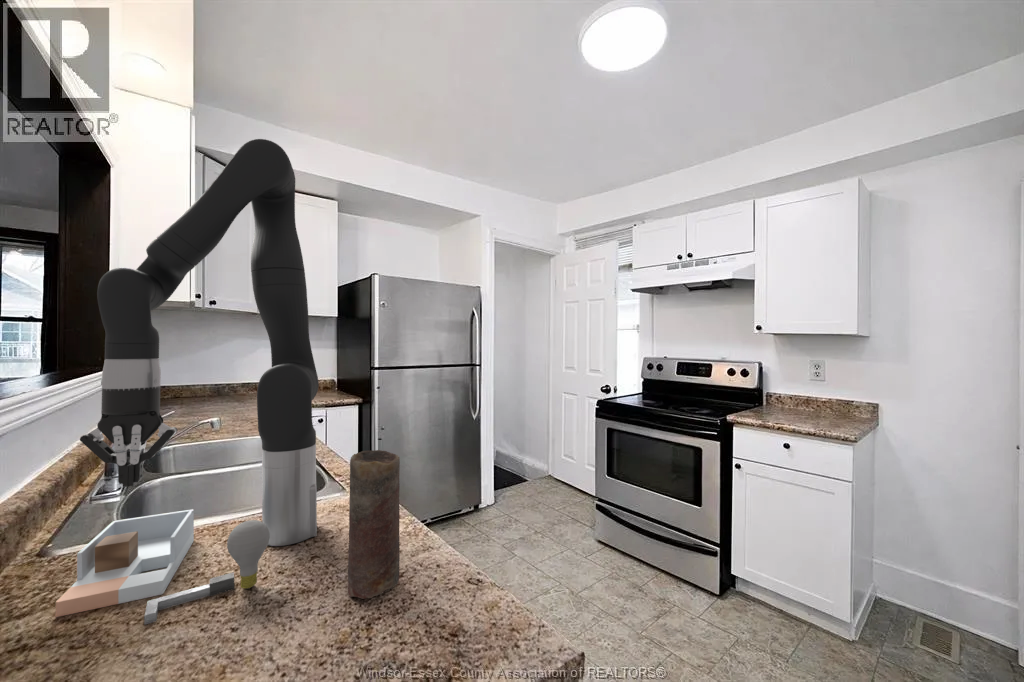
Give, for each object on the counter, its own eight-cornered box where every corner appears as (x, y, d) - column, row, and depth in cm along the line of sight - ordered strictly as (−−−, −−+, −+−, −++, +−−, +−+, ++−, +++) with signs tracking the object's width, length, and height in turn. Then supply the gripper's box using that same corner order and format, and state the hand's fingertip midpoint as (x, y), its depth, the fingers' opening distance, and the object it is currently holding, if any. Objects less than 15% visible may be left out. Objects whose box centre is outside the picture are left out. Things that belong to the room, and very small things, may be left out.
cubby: (193, 541, 79) (193, 509, 79) (162, 594, 62) (162, 553, 62) (113, 555, 74) (113, 520, 74) (55, 617, 57) (55, 572, 57)
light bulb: (278, 581, 65) (277, 516, 65) (245, 601, 60) (245, 531, 60) (252, 575, 67) (251, 512, 67) (218, 594, 61) (218, 526, 62)
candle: (386, 569, 68) (385, 446, 68) (410, 587, 63) (409, 454, 63) (339, 589, 63) (338, 455, 63) (361, 610, 57) (360, 464, 58)
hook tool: (233, 583, 64) (233, 572, 64) (235, 597, 61) (235, 584, 61) (147, 608, 58) (147, 595, 58) (144, 624, 55) (144, 611, 55)
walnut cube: (137, 555, 69) (137, 531, 69) (128, 566, 66) (128, 541, 66) (105, 561, 68) (106, 536, 68) (94, 573, 64) (94, 546, 64)
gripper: (185, 382, 79) (183, 474, 79) (91, 384, 73) (89, 484, 73) (173, 385, 72) (172, 486, 72) (69, 388, 66) (66, 498, 66)
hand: (130, 485), depth 72 cm, fingers closed
